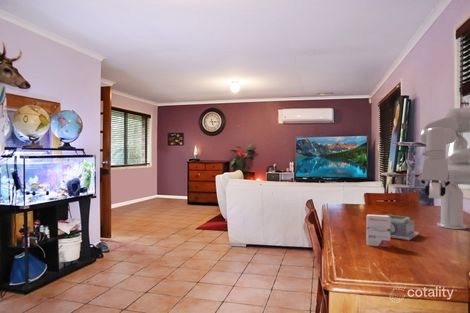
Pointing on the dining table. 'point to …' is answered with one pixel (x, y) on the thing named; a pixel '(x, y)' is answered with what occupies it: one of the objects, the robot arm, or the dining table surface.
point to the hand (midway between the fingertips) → (435, 195)
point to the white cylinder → (435, 189)
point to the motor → (402, 227)
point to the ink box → (378, 230)
